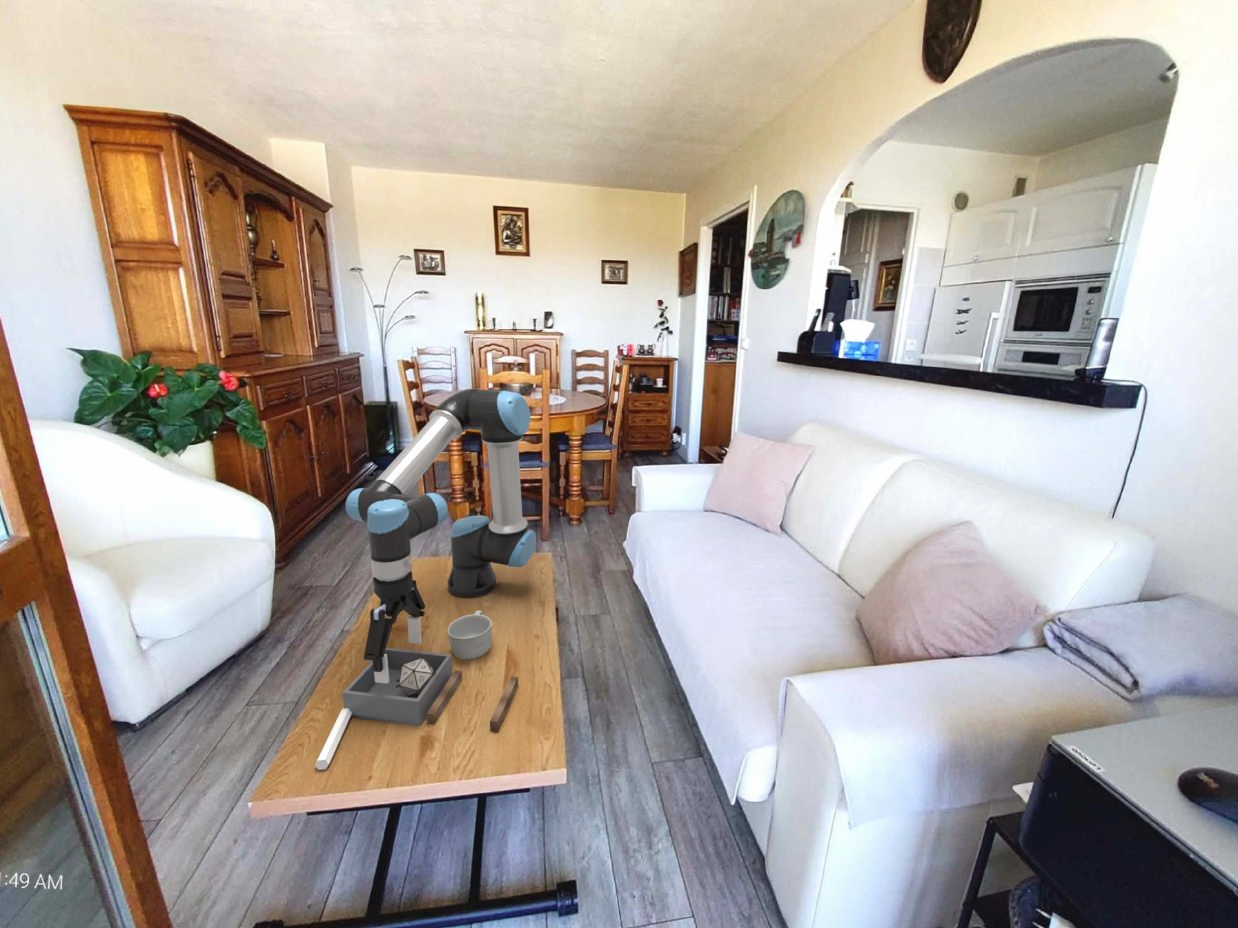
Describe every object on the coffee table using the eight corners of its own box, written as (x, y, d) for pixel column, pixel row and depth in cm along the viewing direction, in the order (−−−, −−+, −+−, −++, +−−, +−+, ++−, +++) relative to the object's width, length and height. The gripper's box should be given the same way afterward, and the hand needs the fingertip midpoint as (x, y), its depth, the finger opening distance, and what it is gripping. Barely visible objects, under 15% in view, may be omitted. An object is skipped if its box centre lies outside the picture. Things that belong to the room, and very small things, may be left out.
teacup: (480, 668, 120) (479, 640, 118) (440, 661, 122) (438, 633, 120) (504, 636, 133) (504, 610, 131) (467, 630, 135) (466, 604, 133)
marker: (352, 709, 106) (324, 771, 90) (342, 706, 105) (313, 768, 90) (358, 700, 105) (331, 760, 90) (348, 696, 105) (319, 757, 90)
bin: (386, 669, 118) (384, 647, 117) (452, 676, 116) (451, 654, 115) (345, 716, 103) (342, 692, 101) (420, 725, 101) (418, 701, 100)
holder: (455, 679, 116) (455, 669, 115) (518, 685, 114) (518, 676, 114) (427, 723, 102) (426, 713, 102) (497, 732, 101) (497, 721, 100)
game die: (396, 691, 111) (412, 646, 114) (432, 701, 111) (447, 656, 114) (381, 699, 103) (399, 650, 105) (420, 710, 103) (437, 661, 105)
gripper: (374, 606, 90) (383, 703, 95) (437, 550, 114) (441, 629, 119) (336, 602, 91) (347, 699, 96) (406, 547, 115) (412, 627, 120)
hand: (399, 660), depth 108 cm, fingers open, 13 cm apart
